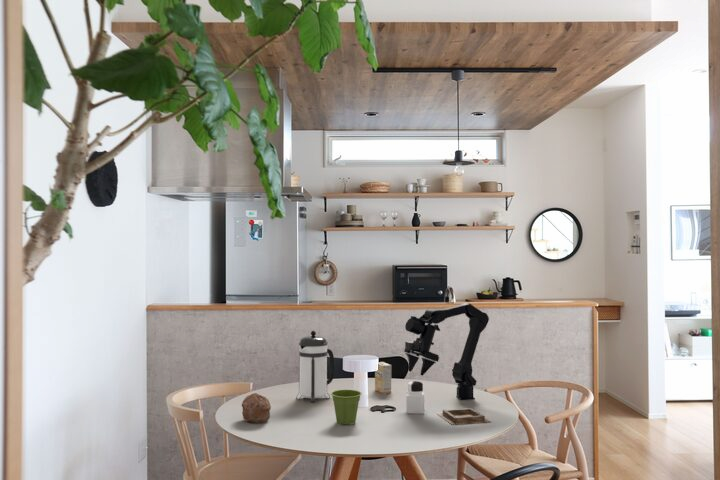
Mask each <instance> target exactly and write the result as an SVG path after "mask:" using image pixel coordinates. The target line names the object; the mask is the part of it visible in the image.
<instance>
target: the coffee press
mask: <svg viewBox="0 0 720 480" xmlns="http://www.w3.org/2000/svg"><path fill="white" fill-rule="evenodd" d="M316 334H317V332H316V331H315V330H312V331H311V332H310V335H309V336H303V337H302V338H301V339H300V340H299V342H298V346H299V351H298V363H299V392H298V394H297V395H296V396H295V397H296V400H300V399H301V398H302V397H303V398H306V399H310V400H311V403H312V404H313V403H315V399H320V398H323V397H324V398H326V399H327V400H330V398H331V396H330V395H331V394H329V392H328V385H330V384H331V383H332V382H333V379H334V375H335V373H334V372H335V360H334V359H335V358H334V357H335V356H334V353H333V351H332V350H331V349H329V348H328V344H329V342H328V341H327V339H326V338H325V337H323V336H320V335H316ZM328 356H329V376H328ZM326 395H328V397H327V396H326ZM298 396H300V397H298Z"/></svg>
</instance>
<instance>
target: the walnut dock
mask: <svg viewBox="0 0 720 480" xmlns="http://www.w3.org/2000/svg"><path fill="white" fill-rule="evenodd" d="M436 415H437V416H438V417H440V418H441V419H443V420H444V421H445V422H446V423H448V424H450V425H451V426H460V425H461V426H462V425H472V424H473V425H474V424H475V425H476V424H487V423H489V424H490V422H491V423H492V421H491V420H489V419H487V418H486V416H485V415H483V414H482V413H480V412H479V411H477V410H475V409H473V408H471V407H470V408H454V409H442V413H436Z"/></svg>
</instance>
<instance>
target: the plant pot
mask: <svg viewBox="0 0 720 480" xmlns="http://www.w3.org/2000/svg"><path fill="white" fill-rule="evenodd" d="M362 394H363V393H362V392H361V391H360V390H356V389H337V390H334V391H333V390H332V391H331V392H330V395H331V397H332V401H333V405H334V413H335V420H336V423H337V424H339V425H354V424H355V423H356V422H357V414H358V408H359V402H360V400H361V396H362Z"/></svg>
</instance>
